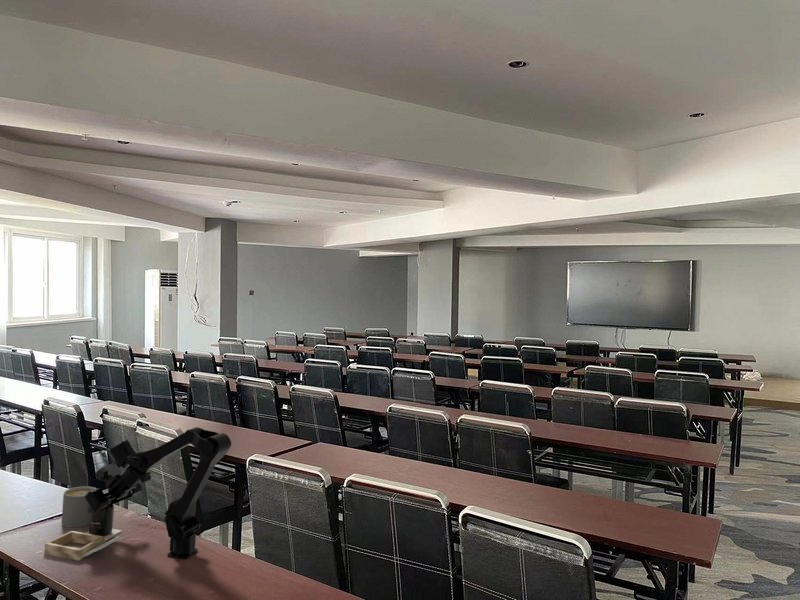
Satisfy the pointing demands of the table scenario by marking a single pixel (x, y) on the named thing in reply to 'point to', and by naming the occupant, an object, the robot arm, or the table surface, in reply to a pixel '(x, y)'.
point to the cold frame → (58, 549)
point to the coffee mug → (76, 507)
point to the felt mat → (113, 533)
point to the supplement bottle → (102, 521)
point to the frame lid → (101, 546)
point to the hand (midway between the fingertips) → (98, 508)
